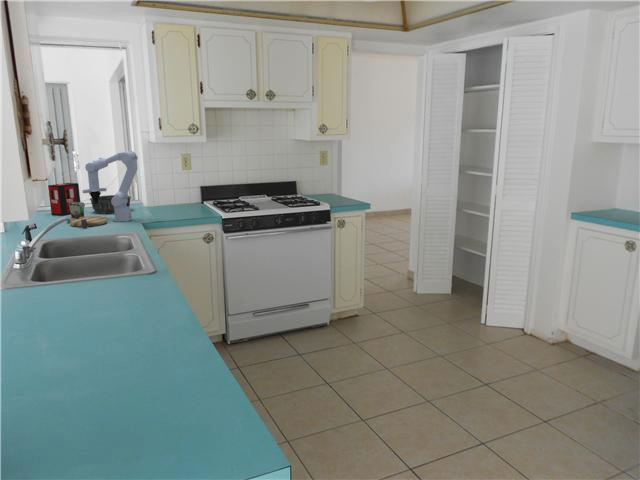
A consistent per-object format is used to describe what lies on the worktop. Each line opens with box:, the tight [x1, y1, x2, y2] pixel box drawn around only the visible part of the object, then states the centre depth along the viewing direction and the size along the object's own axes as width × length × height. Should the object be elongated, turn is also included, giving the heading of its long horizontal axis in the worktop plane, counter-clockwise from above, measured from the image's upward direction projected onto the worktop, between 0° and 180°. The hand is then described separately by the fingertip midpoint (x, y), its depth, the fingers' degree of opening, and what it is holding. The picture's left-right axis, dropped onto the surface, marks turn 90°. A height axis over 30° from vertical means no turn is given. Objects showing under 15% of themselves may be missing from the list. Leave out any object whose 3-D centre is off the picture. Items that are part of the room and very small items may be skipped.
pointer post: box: [81, 219, 88, 230], centre depth 287 cm, size 4×2×5 cm, turn 15°
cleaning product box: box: [47, 182, 81, 217], centre depth 331 cm, size 16×9×20 cm, turn 161°
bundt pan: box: [89, 194, 132, 215], centre depth 341 cm, size 26×26×10 cm
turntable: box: [69, 211, 108, 228], centre depth 297 cm, size 20×20×7 cm
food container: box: [69, 201, 86, 219], centre depth 316 cm, size 12×6×10 cm, turn 59°
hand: (96, 203), depth 309 cm, fingers closed
